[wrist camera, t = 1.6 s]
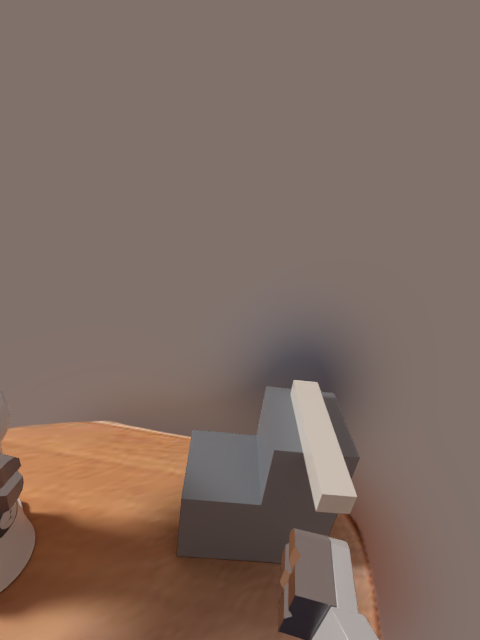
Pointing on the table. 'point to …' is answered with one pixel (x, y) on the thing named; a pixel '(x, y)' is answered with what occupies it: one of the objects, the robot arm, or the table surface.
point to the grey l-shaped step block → (254, 486)
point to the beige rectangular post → (321, 451)
